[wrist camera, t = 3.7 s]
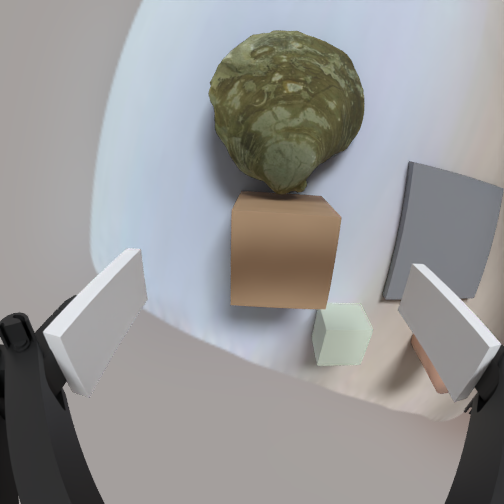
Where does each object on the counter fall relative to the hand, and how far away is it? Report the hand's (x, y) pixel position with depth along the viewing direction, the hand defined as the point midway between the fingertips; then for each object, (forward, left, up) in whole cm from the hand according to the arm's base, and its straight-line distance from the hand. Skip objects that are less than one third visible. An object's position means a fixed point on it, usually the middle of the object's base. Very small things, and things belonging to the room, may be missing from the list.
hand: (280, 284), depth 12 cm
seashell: (-13, +1, -11) cm, 16 cm away
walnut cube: (+1, 0, -9) cm, 9 cm away
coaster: (0, +16, -9) cm, 19 cm away
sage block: (+9, +6, -10) cm, 14 cm away
